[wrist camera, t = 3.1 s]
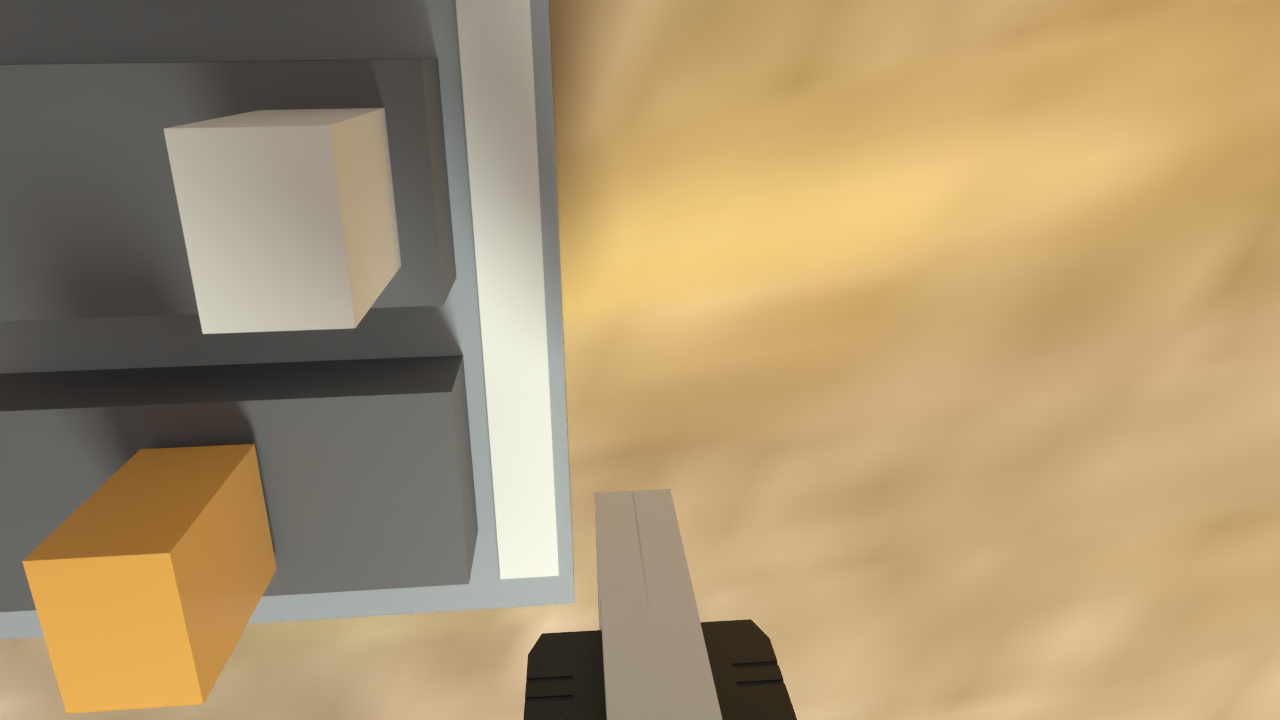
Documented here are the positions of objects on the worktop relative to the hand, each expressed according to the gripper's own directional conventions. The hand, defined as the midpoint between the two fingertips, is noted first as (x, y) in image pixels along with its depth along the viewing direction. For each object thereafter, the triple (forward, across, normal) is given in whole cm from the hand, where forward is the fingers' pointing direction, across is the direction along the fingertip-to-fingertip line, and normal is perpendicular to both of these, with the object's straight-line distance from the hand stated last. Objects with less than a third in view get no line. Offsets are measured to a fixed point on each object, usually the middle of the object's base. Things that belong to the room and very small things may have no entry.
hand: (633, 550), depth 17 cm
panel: (+7, -9, +7) cm, 14 cm away
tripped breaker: (+3, -9, 0) cm, 10 cm away
